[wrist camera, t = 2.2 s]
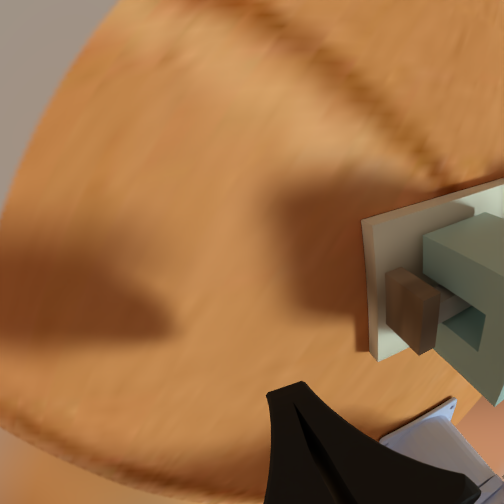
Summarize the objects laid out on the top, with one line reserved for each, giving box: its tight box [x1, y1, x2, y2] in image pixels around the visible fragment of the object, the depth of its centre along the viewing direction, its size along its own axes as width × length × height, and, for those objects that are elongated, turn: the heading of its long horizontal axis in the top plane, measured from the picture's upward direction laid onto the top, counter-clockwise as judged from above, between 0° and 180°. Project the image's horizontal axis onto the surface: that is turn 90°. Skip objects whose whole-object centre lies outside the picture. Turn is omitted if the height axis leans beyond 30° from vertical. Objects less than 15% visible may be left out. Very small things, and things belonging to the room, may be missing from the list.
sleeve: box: [423, 212, 504, 407], centre depth 12 cm, size 6×5×6 cm
